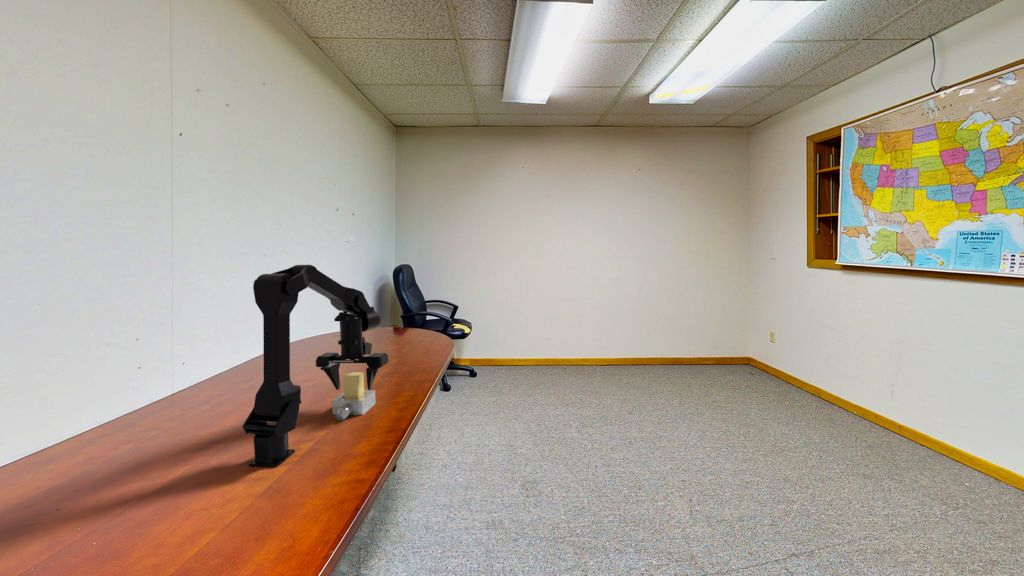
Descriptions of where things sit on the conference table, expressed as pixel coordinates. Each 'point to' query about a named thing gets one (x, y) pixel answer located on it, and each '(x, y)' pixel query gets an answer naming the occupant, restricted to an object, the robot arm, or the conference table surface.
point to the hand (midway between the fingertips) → (353, 389)
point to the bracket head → (352, 405)
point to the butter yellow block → (353, 385)
